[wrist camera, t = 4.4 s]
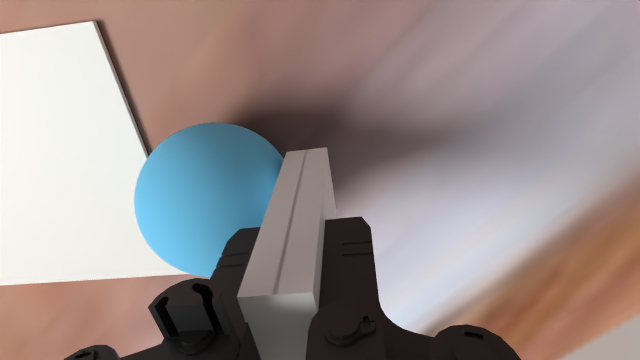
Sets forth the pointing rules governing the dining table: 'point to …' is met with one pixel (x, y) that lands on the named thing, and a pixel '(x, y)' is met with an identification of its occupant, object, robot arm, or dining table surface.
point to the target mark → (68, 162)
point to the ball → (204, 192)
